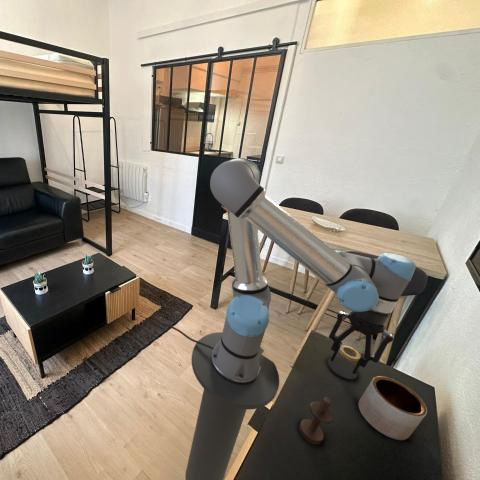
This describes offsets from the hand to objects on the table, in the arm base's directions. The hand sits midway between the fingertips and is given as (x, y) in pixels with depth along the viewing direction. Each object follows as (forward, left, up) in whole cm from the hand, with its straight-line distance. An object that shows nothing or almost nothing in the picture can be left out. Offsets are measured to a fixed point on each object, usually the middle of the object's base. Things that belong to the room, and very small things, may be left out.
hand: (343, 364), depth 80 cm
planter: (+12, -10, -2) cm, 15 cm away
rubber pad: (0, 0, -2) cm, 2 cm away
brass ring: (0, 0, +5) cm, 5 cm away
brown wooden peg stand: (0, -29, -2) cm, 29 cm away
